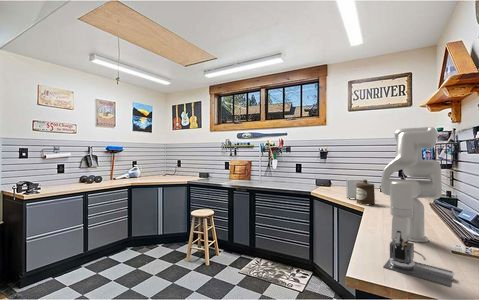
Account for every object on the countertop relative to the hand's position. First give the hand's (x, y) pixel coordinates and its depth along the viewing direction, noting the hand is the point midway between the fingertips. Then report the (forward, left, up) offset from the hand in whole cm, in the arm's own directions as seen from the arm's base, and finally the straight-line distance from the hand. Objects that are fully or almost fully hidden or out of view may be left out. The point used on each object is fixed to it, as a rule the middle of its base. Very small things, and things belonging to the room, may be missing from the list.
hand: (401, 255), depth 97 cm
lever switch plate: (0, +5, -4) cm, 7 cm away
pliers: (-20, -2, -5) cm, 21 cm away
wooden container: (-122, -49, -4) cm, 131 cm away
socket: (0, 0, -1) cm, 1 cm away
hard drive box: (-141, -64, -4) cm, 155 cm away
